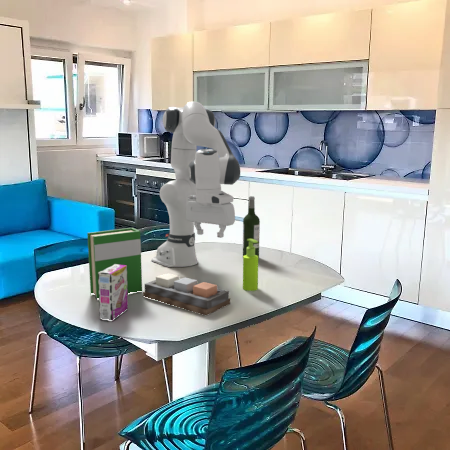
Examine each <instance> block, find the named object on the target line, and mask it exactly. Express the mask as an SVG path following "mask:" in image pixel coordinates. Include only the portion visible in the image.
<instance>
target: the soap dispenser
mask: <svg viewBox="0 0 450 450" xmlns="http://www.w3.org/2000/svg"><path fill="white" fill-rule="evenodd" d="M247 241H249V246H248V247H247V248H246V255H244V256H243V255H242V289H243V290H244V291H247V292H255V291H257V290H259V259H258V256H257V255H255V247H253V243H258V241H256V240H255V239H247Z"/></svg>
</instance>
